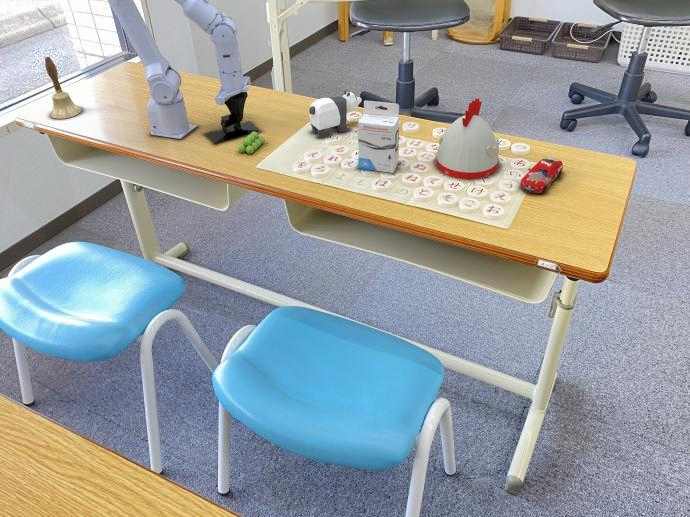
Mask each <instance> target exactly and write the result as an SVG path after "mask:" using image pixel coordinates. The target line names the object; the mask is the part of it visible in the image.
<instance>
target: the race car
mask: <svg viewBox="0 0 690 517" xmlns="http://www.w3.org/2000/svg"><path fill="white" fill-rule="evenodd" d="M563 168H564V162H563V161H562V160H560V159H558V158H554V157H551V156H548V157H543V158H542V159H540V160H539V161H538V162H537V163H536V164H535V165H534V166H532V168H528V169H527V171H528V172H527V173H526V174H525V175H524V176H523V177H522V178H521V180H520V184H519V186H520V188H521V189H522V190H524V191H526V192H528V193H531V194H532V193H533V194H544V193H545V192H546V190H548V188H550V186H551V185H552V184H553V183H555V181H556V180H558V179H560V177H561V175H562V173H563Z"/></svg>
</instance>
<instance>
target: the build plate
mask: <svg viewBox="0 0 690 517" xmlns="http://www.w3.org/2000/svg"><path fill="white" fill-rule="evenodd" d="M220 118H221V119H220V126H221V128H219V129H215V130H213V131H209V132H206V133H205V134H204V135H205V137H207V138H208V139H209V141H211V142H212V143H213V144H214V145H219V144H222V143H226V142H229V141H232V140H236V139H240V138H242V137H243V138H244V137H247V136H248V135H250V134H251V133H252V132H259V131H260V129H258V128H257V127H256V126H255V125H253V123H251V122H250V121H245V122H242V121H241V122H240V120H239V118H238V116H236V115H235V114H234V113H233V114H231V113H229V114H226V115H222V116H221V117H220Z"/></svg>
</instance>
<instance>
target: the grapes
mask: <svg viewBox="0 0 690 517" xmlns="http://www.w3.org/2000/svg"><path fill="white" fill-rule="evenodd" d="M260 133H262V131H261V130H259V132H252V133H251V134H250V135H247V136H246V137H244V138H243V140H242V143H241V144H239V146H238V147H237V150H238V151H239V152H240V153H241V154H242V153H247V154H249V155H251V154H253V153H254V152H255V151H257V149H258V148H259V147H261V146H262V144H264V143H265V138H264V136H262V135H260Z"/></svg>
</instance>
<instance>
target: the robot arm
mask: <svg viewBox="0 0 690 517" xmlns="http://www.w3.org/2000/svg"><path fill="white" fill-rule="evenodd" d="M107 2H108V4H109V5H110V7H111V9H112V11H113V13H114V15H115V17H116V18H117V20H118V22H119V23H120V26H121V27H122V30H123V31H124V34H125V35H126V36H127V38H128V40H129V42H130V44H131V46H132V47H133V49H134V52H135V53H136V55H137V56H138V58H139V60H140V62H141V64H142V66H143V68H144V73H145V79H146V82H147V83H148V85H149V86H148V87H149V93H150V96H151V97H150V98H149V100H148V101H147V104H146V112H147V117H148V122H149V125H150V128H151V132H150V135H152V136H159V137H164V138H170V139H171V138H172V139H178V140H181V139H183V138H184V137H185V136H187V135H188V134H189V133H190V132H192V131H193V130H194V129H196V128H197V127H198V126H197V124H192V123H190V122H189V117H188V112H187V108H186V103H185V98H184V93H182V92H181V90H180V87H181V85H182V76H181V75H180V73H179V71H177V69H175V68H174V67H173V66H172V65H171V63H170V61H169V60H168V59H166V58H165V57H164V56H163V54H162V52H161V50H160V48H159V47H158V44H157V42H156V40H155V39H154V37H153V34H152V33H151V31H150V29H149V27H148V25H147V24H146V21H145V20H144V18H143V16H142V14H141V12H140V10H139V8H138V6H137V4H136V2H135V1H134V0H107ZM174 2H176V3H177V4H179V5H180V6H181V7H182V10H183V14H184V16H185V17H187V19H188V20H190V21H191V22H192V23H194V24H195V25H196V26H197V27H198V28H200V29H201V30H202V31H203V32H204V33H206V34H207V35H210V40H211V42H212V43H213V45H214V47H215V57H216V62H217V63H216V64H217V68H218V76H219V80H220V86H221V87H220V89H219V91H218V93H217V94H216V95H215V96H214V100H215V105H218V106H226V108H227V109H228V111H229V114H233V113H234V114H235V115H236V116H238V118H239V120H240V122H241V123H242V122H243V120H244V111H245V105H246V101H247V98H248V96H249V95H248V91H249V86H250V85H252V81H251V76H244V75H243V74H244V73H243V68H242V60H241V53H240V49H239V44H238V40H237V34H238V28H237V24H236V22H235V21H234V20H233V18H232V17H231V16H228V15H226V13H224V12H223V11H221V12H220V11H219V10H217V8H215V7H214V6H213V5H212V4H211V3H209V0H174Z"/></svg>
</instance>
